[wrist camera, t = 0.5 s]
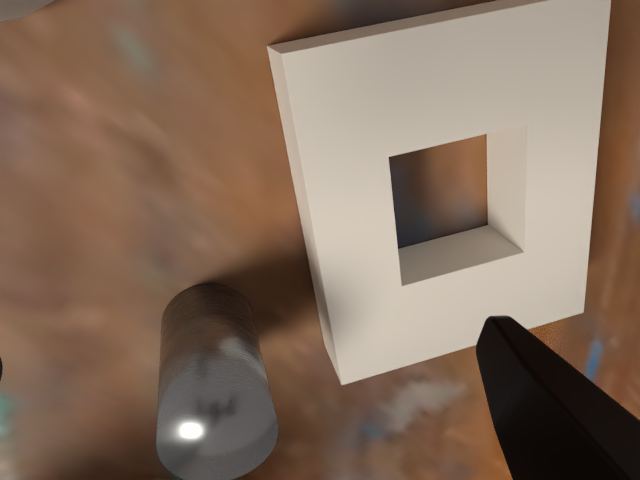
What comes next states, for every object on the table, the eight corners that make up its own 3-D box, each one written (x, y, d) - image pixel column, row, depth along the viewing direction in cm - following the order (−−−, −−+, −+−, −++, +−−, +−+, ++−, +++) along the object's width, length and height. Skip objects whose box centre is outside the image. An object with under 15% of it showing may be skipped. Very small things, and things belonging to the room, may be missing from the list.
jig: (544, 281, 27) (583, 312, 25) (324, 345, 26) (341, 385, 23) (557, -12, 21) (612, -13, 18) (266, 45, 19) (280, 54, 17)
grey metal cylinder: (260, 345, 25) (288, 461, 19) (175, 369, 24) (176, 497, 18) (241, 273, 23) (265, 375, 17) (149, 297, 22) (139, 412, 16)
